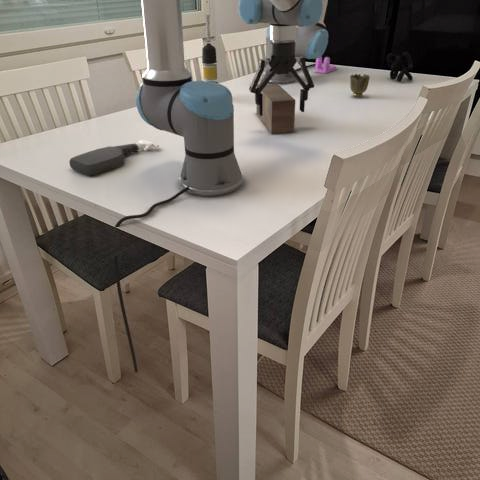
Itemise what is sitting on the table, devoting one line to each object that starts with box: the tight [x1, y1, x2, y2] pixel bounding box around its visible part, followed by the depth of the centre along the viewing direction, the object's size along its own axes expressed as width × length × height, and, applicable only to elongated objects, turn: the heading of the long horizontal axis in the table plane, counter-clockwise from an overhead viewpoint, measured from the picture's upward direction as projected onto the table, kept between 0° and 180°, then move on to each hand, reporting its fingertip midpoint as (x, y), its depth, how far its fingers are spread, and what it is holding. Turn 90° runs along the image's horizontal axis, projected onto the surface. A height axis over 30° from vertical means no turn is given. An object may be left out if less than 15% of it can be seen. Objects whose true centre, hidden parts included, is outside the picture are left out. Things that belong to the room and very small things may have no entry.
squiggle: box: [385, 51, 414, 83], centre depth 198 cm, size 11×10×15 cm
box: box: [255, 83, 296, 135], centre depth 148 cm, size 23×7×10 cm, turn 10°
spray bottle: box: [68, 139, 160, 177], centre depth 124 cm, size 3×11×24 cm
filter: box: [201, 14, 219, 84], centre depth 171 cm, size 6×6×30 cm
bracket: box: [314, 56, 337, 74], centre depth 219 cm, size 13×6×7 cm, turn 143°
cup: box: [349, 73, 371, 98], centre depth 175 cm, size 8×7×8 cm
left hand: (281, 112), depth 142 cm, fingers open, 13 cm apart
